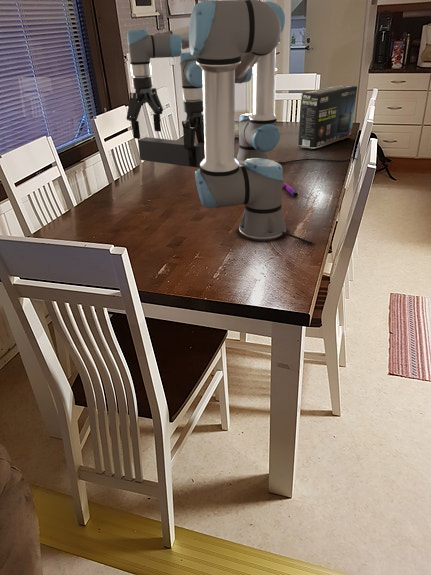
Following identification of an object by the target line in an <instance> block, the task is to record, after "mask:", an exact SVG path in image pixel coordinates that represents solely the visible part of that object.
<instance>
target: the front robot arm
mask: <svg viewBox="0 0 431 575" xmlns="http://www.w3.org/2000/svg"><path fill="white" fill-rule="evenodd" d="M264 2H265V1H262V0H206V1H200V2H197V3H196V4H194V6H193V7H192V10H191V14H190V18H189V25H188V26H189V48H188V49H189V51H187V52H182V54H181V55H180V56H179V60H180V62H179V66H180V74H181V75H180V76H181V88H182V100H183V102H182V103H183V104H182V106H183V112H184V113H186V117H185V120H182V121H181V125H182V135H183V141H184V148H185V149H188V156H189V166H193V167H192V168H197V167H196V151H195V149H194V142H195V140H196V141H197V143H205V158H204V159H203V160H202V161H201V163H200V168H199V169H196V170H195V171H194V180H195V185H196V189H197V193H198V197H199V201H200V204H201V205H202V206H203V208H205V209H219V208H226V207H227V208H228V207H235V206H242V205H244V211H243V213H242V216H241V220H240V222H239V226H238V232H239V235H240V236H241V237H242V238H244V239H247V240H250V241H254V242H271V241H277V240H279V239H281V238H283V237H285V236H288V237H290V238H293V239H296V240H298V241H301V242H303V243H306V244H310V245H311V244H313V241H311V240H308V239H305V238H301V237H299V236H297V235H294V234H292V233H289V232H287V223H286V221H285V216H284V214H283V210H282V200H283V188H282V183H283V180H284V174H283V173H284V172H283V171H284V170H283V166H282V164H280V163H277V162H278V161H277V162H275V161H276V160H273V161H272V159H269V158H268V159H262V158H250V159H247V160H245V162H244V166H239V161H238V160H237V157H236V158H235V137H234V129H235V123H236V122H235V120H236V119H235V118H236V116H235V115H236V114H235V110H236V109H235V108H236V107H235V106H236V103H235V102H236V84H244V83H249V82H250V81H251V80H252V77H253V66H254V65H255V64H256V63H257V61H258V60H259V59H260V58H261V57H262V56H265V55H267V54H269V53H270V52H271V51H272V50H273V49H274V48H275V47H276V46H277V44H278V42H279V40H280V41H281V36H282V32H281V24H280V20H279V17H278V15H277V14H276V12H275V11H274V10H273V9H272V8H271V7H270V6H269V5H268V4H266V3H264ZM277 47H278V46H277ZM277 47H276V48H277ZM189 166H188V167H189Z"/></svg>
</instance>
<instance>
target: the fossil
mask: <svg viewBox="0 0 431 575" xmlns="http://www.w3.org/2000/svg"><path fill="white" fill-rule="evenodd" d="M235 136H239V122H235V129H234V139H238V140H239V137H235Z"/></svg>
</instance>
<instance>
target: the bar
mask: <svg viewBox="0 0 431 575" xmlns="http://www.w3.org/2000/svg"><path fill="white" fill-rule="evenodd" d="M137 145H138V153H139V160H140V161H145V162H153V163H160V164H167V165H168V164H169V165H175V166H183V167H190V168H194V167H193V166H189V156H188V149H185V148H184V140H178V139H177V140H176V139H167V138H158V137H149V136H145V137H143V138H140V139H137ZM194 149H195V151H196V167H195V168H198V169H200V163H201V161H202V160H203V159H204V158H205V143H198V141H197V142H194Z"/></svg>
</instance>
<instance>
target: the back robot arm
mask: <svg viewBox="0 0 431 575" xmlns="http://www.w3.org/2000/svg"><path fill="white" fill-rule="evenodd" d="M263 2H264V3H266V4H268V5H269V6H270V7H271V8H272V9H273V10H274V11H275V12H276V14H277V15H278V17H279V20H280V24H281V33H283V31H284V29H285V25H286V14H285V12H284V10H283V8H282V7H281V6H280V5H279V4H278V3H276V2H273V1H270V0H269V1H268V0H267V1H263ZM189 26H190V25H185V26H182V27H178V28H174V29H171V30H168V31H164V32H157V33H154V34H149V32H148V29H146V28H141V29H129V30H127V32H126V39H127V50H128V58H129V65H130V73H131V77H132V78H131V84H132V88H133V89H134V90H135V91H134V92H129V93H128V94H129V100H128V106H127V112H126V121H129V122H130V125H131V130H132V136H133V139H137V140H139V139H141V132H140V122H139V120H138V118H139V115H140V112H141V109H142V106H144V105H145V104H146V103H147V105H148V106H149V108H150V109H151V110H152V112H153V114H152V118H153V119H152V120H153V128H154V132H162V126H161V120H162V119H161V115H162V114H163V112H164V107H163V104H162V103H161V100H160V98H159V95H158V91H157V90H158V89H157V88H156V87H153V86H154V84H153V77H152V75H153V74H152V73H153V72H152V65H151V64H152V63H151V59H161V58H178V57H179V58H180V55H181V54H182V53H183V50H187V49H189ZM280 44H281V39H280V40H279V42H278V44H277V46H276V47H275V48H274V49H273V50H272V51H271V52H270V53H269V54H267V55H265V56H262V57H261V58H260V59H259V60H258V61H257V63H256V64H255V65H254V66H253V67H252V113H245V114H241V115H240V116H238V124H239V138H238V153H237V155H236V159H237V160H238V161H239V166H244V162H245V160H247V159H250V158H262V159H269V158H268V156H267V152H270V151H272V150H274V149H275V148H276V147H277V145H278V144H279V142H280V139H281V134H280V130H279V128H278V127H277V125H278V124H277V123H278V122H277V121H278V117H277V115H276V114H275V113H274V108H275V106H274V105H275V104H274V103H275V84H276V83H275V78H276V53H277V47H278V46H279V45H280ZM350 158H351V159H353V160H355V161H357V158H356V157H355V156H350ZM346 159H347V158H346ZM271 160H272V159H271ZM349 160H350V159H347V160H345V159H328V158H327V159H326V158H301V159H293V160H292V159H291V160H288V161H277V163H279V164H280V165H282V164H291V163H295V162H301V161H302V162H303V161H321V162H333V163H334V162H336V163H342V162H347V161H349ZM272 161H274V159H273V160H272Z"/></svg>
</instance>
